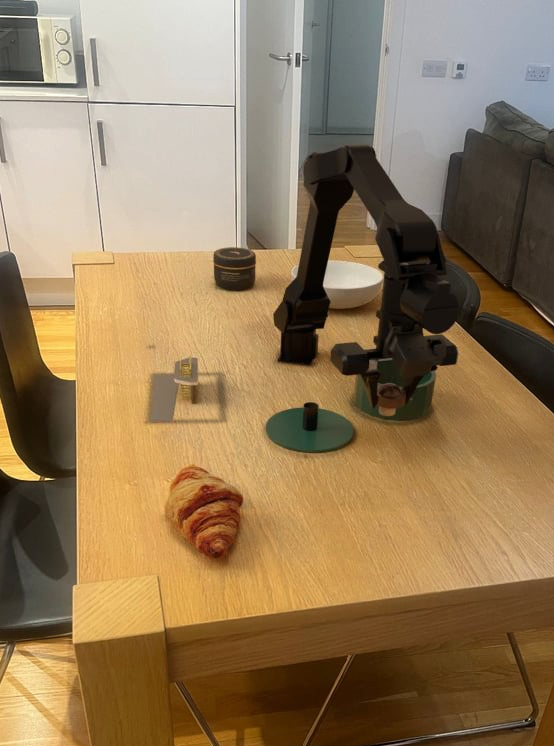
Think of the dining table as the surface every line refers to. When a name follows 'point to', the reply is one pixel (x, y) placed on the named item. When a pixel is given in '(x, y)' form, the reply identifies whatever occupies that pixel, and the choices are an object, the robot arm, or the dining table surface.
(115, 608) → the dining table surface
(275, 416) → the lid
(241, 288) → the jar
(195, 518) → the croissant
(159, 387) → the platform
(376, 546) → the dining table surface
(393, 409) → the mushroom
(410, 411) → the pot
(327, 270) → the serving bowl
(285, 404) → the dining table surface
